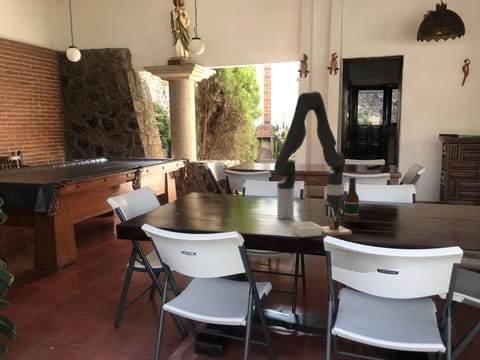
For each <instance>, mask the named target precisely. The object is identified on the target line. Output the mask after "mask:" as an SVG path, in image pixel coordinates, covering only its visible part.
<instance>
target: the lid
mask: <svg viewBox="0 0 480 360" xmlns="http://www.w3.org/2000/svg"><path fill="white" fill-rule="evenodd" d="M336 218H337V216H336ZM334 226H335V219H334V217H333V216H331V217H329V218H328V225H325V226H323V225H322V226H321V227H322V228H321V232H322V231H323V232H322V233H324V232H325V234H326V235H329V236H330V235H331V236H334V235H333V234H340V235H343V234H342V233H350V234H352V230H350V229H348V228H345V227H343V226H341V225H339V229H335V228H334Z"/></svg>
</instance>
